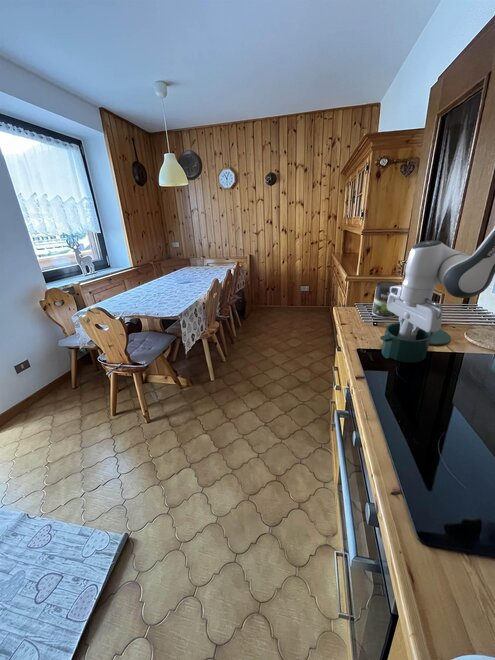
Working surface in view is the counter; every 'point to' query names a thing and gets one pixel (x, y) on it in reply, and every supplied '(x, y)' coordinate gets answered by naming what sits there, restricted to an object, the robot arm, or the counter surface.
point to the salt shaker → (406, 329)
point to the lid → (440, 338)
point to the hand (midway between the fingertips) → (407, 332)
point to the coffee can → (382, 299)
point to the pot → (404, 345)
